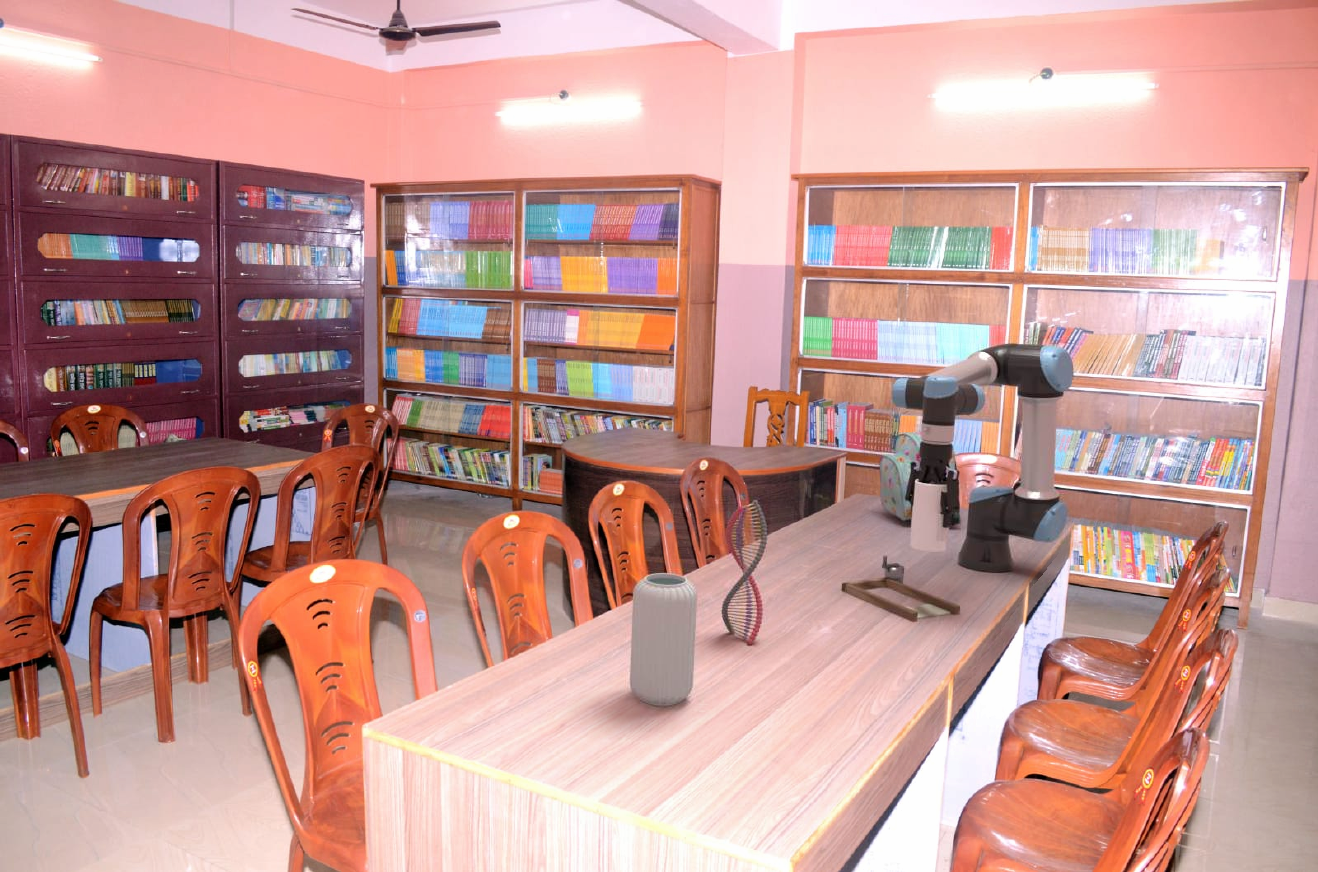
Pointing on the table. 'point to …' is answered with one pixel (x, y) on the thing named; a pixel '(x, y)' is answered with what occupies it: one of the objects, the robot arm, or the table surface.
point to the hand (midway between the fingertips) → (928, 535)
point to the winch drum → (893, 571)
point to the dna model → (745, 571)
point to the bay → (912, 613)
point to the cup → (927, 517)
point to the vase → (663, 639)
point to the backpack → (903, 475)
